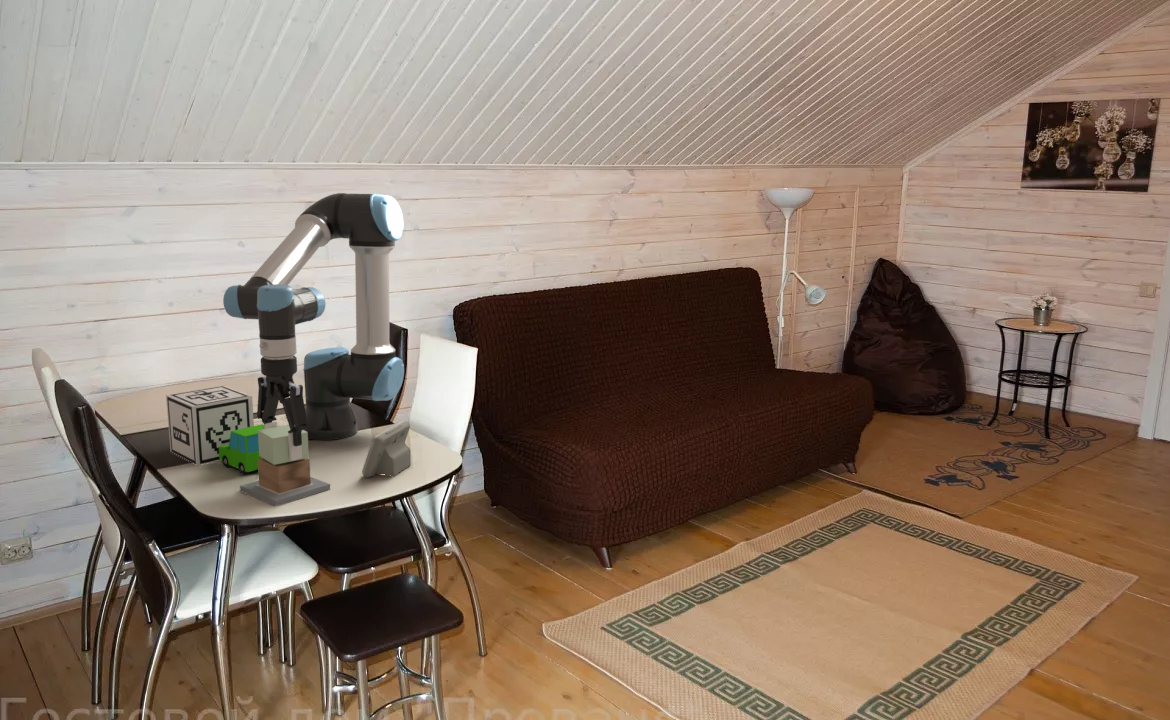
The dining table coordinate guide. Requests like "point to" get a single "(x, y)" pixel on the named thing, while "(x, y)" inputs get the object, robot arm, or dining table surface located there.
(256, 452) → the toy car
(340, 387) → the robot arm
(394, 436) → the digital clock
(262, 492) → the plate
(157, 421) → the dining table surface
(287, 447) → the green block
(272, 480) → the walnut block
